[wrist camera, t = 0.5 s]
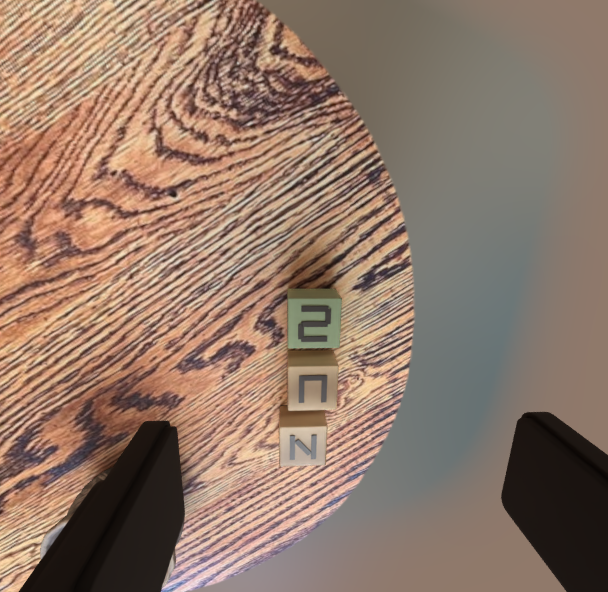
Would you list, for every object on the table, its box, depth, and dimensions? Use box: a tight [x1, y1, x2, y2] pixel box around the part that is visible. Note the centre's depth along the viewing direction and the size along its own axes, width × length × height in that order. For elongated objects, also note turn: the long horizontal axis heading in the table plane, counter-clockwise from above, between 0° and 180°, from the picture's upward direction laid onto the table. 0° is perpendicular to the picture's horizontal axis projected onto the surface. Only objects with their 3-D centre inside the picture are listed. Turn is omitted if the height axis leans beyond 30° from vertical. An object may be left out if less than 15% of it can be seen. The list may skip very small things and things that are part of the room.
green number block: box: [287, 289, 342, 348], centre depth 25 cm, size 4×4×3 cm
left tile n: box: [279, 406, 327, 467], centre depth 28 cm, size 4×4×3 cm
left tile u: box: [287, 350, 339, 411], centre depth 26 cm, size 4×4×3 cm
